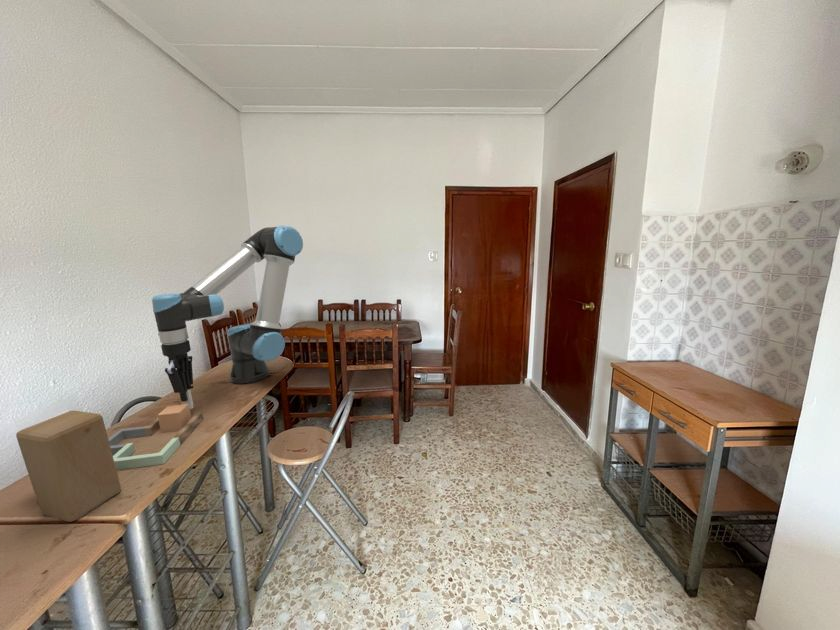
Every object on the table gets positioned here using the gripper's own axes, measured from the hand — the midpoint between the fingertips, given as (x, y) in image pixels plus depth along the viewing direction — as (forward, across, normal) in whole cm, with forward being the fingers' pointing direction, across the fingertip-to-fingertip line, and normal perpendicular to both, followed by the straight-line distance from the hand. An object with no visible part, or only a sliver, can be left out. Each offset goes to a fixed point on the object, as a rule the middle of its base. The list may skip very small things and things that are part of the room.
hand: (188, 408), depth 115 cm
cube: (+2, +8, 0) cm, 9 cm away
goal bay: (+2, +24, 0) cm, 24 cm away
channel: (+2, +13, 0) cm, 13 cm away
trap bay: (+2, +16, -10) cm, 19 cm away
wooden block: (+2, +40, -4) cm, 41 cm away
